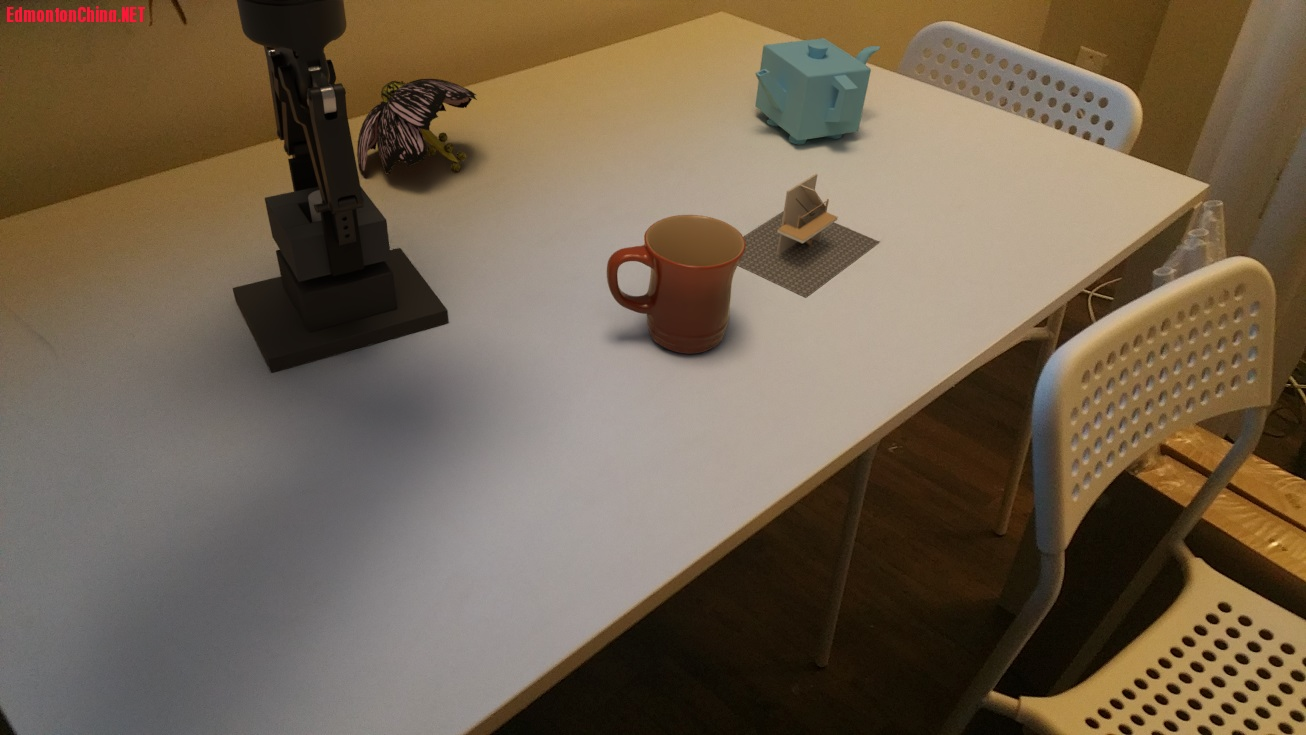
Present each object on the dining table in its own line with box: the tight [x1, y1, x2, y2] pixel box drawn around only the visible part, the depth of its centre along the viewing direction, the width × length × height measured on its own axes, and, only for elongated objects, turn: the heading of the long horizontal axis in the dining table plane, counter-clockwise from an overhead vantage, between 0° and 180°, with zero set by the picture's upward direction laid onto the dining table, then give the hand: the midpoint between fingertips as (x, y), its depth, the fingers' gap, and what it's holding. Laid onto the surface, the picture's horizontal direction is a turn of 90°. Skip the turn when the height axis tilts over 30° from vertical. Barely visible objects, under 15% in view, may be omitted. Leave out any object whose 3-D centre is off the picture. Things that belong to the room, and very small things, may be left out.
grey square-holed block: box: [264, 185, 391, 282], centre depth 85 cm, size 8×8×4 cm
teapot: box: [754, 37, 881, 145], centre depth 125 cm, size 16×18×11 cm
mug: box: [606, 214, 746, 355], centre depth 88 cm, size 12×9×10 cm
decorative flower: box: [356, 78, 478, 177], centre depth 111 cm, size 15×12×15 cm
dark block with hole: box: [275, 249, 397, 333], centre depth 89 cm, size 8×8×4 cm
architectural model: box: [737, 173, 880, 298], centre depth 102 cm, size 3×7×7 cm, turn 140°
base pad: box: [232, 190, 449, 373], centre depth 87 cm, size 16×12×12 cm
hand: (331, 245), depth 86 cm, fingers closed on grey square-holed block, 8 cm apart
